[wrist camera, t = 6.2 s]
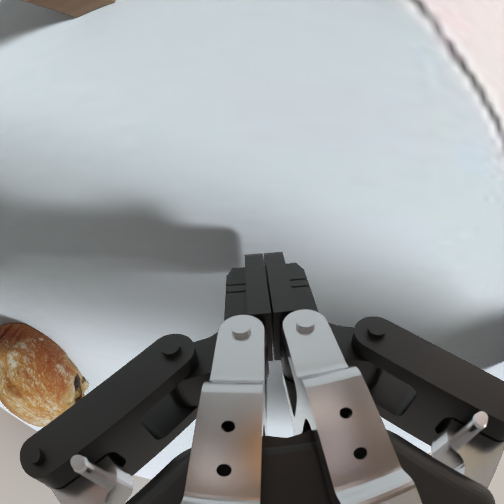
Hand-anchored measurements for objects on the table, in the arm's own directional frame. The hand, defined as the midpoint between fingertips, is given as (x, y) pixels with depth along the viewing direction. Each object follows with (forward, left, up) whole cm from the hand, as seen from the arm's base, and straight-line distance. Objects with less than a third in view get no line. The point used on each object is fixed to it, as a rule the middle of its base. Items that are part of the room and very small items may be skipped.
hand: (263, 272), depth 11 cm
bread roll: (-9, +20, -2) cm, 22 cm away
